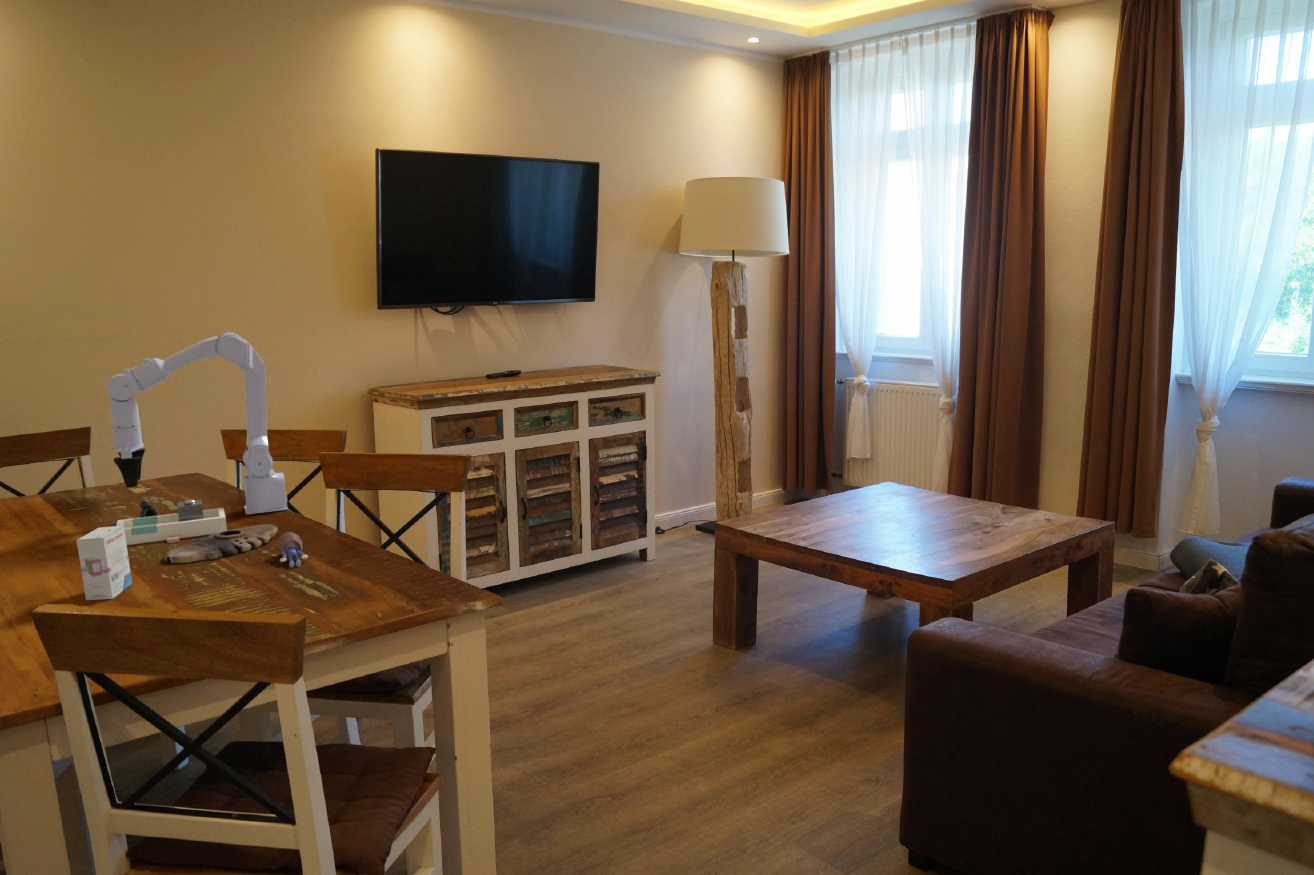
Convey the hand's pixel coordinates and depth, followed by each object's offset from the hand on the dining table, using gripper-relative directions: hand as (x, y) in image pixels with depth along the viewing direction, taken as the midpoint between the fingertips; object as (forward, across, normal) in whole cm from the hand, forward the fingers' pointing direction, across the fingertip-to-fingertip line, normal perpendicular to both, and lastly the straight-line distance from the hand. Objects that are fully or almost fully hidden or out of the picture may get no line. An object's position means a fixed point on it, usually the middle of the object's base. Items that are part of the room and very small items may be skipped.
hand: (133, 483), depth 226 cm
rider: (+8, +12, +12) cm, 19 cm away
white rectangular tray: (+10, +14, +8) cm, 19 cm away
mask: (+11, +30, +19) cm, 37 cm away
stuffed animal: (+11, 0, +2) cm, 11 cm away
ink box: (+10, +52, -1) cm, 53 cm away
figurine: (+10, +46, +32) cm, 57 cm away
